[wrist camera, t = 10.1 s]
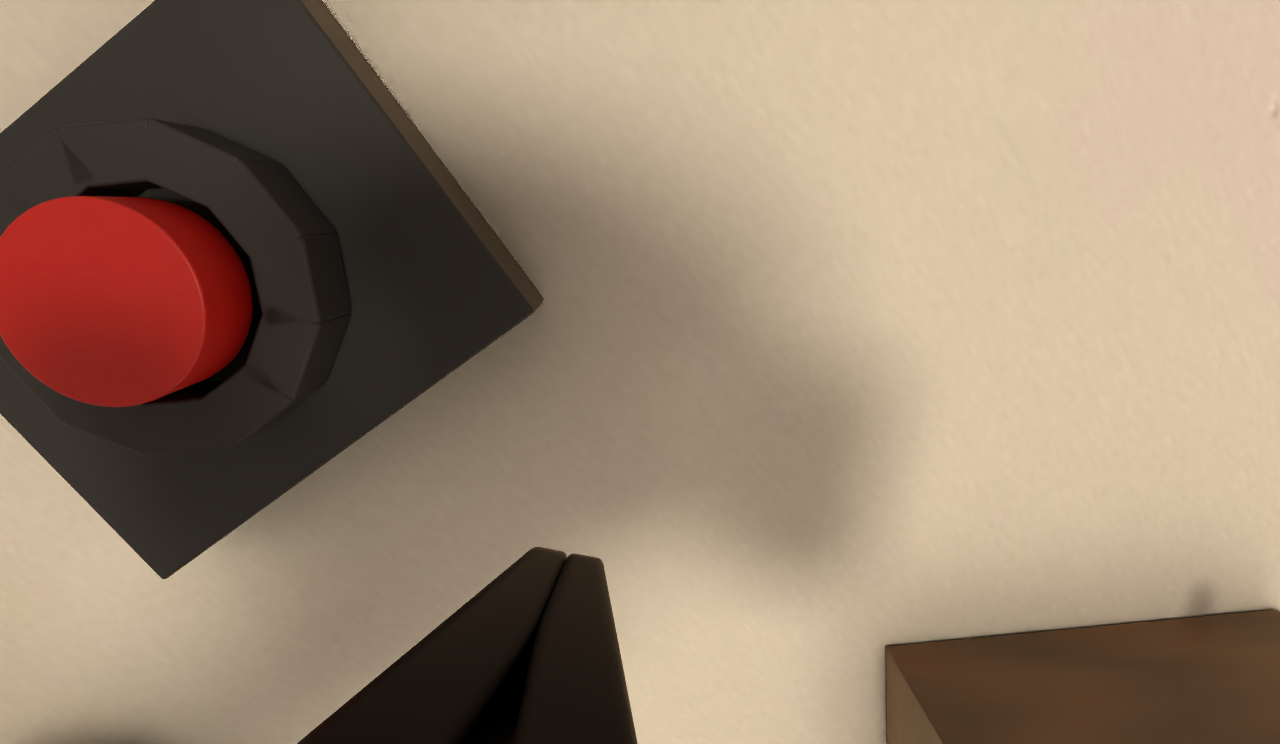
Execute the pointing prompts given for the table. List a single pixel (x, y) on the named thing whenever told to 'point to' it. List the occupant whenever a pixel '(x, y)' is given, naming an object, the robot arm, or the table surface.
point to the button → (120, 298)
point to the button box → (257, 259)
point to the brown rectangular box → (1093, 685)
